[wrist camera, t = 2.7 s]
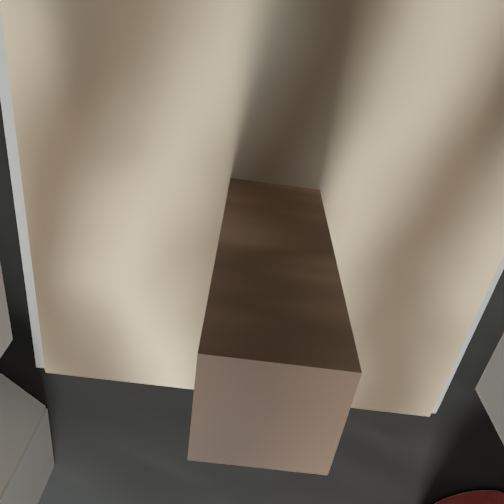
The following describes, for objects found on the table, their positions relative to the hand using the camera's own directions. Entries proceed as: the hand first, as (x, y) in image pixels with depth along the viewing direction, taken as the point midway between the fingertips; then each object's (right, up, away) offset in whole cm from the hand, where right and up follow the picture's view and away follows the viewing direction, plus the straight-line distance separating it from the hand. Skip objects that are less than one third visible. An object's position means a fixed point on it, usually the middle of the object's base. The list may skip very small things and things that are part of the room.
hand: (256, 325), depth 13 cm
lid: (+1, +4, +6) cm, 7 cm away
